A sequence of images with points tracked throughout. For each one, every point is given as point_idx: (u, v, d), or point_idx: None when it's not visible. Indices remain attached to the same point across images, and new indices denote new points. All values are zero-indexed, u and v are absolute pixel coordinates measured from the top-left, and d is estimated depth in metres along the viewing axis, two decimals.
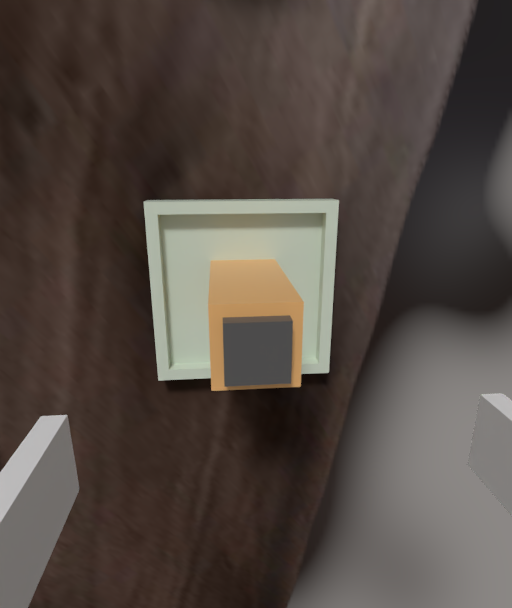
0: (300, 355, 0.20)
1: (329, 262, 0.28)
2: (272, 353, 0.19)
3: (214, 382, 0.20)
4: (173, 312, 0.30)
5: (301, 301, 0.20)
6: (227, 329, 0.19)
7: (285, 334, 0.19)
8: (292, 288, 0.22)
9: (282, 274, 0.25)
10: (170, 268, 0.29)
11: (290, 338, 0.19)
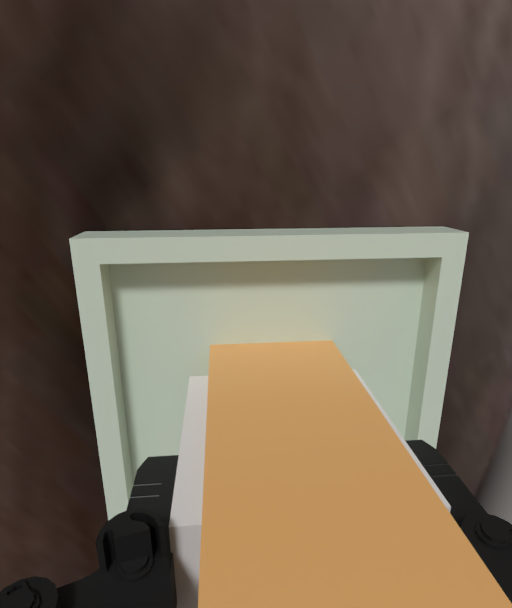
0: None
1: (440, 350, 0.15)
2: None
3: None
4: (141, 437, 0.16)
5: None
6: None
7: None
8: (429, 491, 0.08)
9: (369, 405, 0.11)
10: (133, 360, 0.15)
11: None
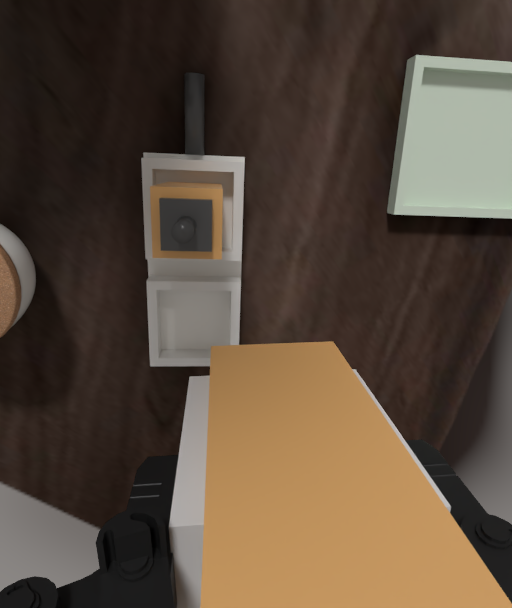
0: None
1: None
2: None
3: None
4: (410, 158, 0.37)
5: None
6: None
7: None
8: (430, 493, 0.08)
9: (370, 406, 0.11)
10: (416, 119, 0.36)
11: None
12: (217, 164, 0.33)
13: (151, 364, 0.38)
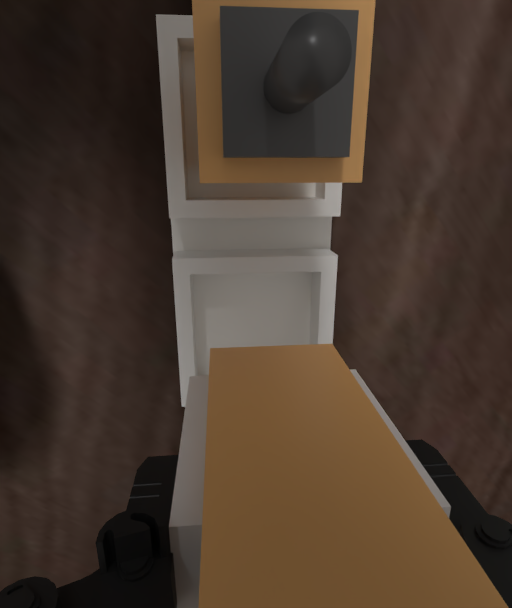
0: None
1: None
2: None
3: None
4: None
5: None
6: None
7: None
8: (428, 497, 0.08)
9: (369, 409, 0.11)
10: None
11: None
12: None
13: (185, 404, 0.22)
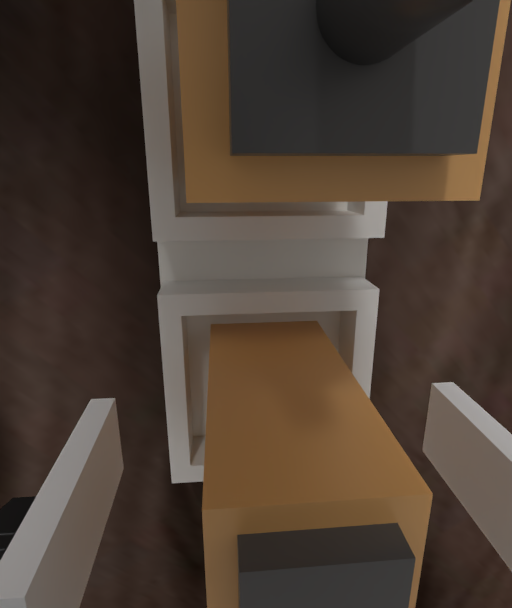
0: (413, 597, 0.09)
1: None
2: None
3: None
4: None
5: (426, 491, 0.08)
6: (251, 585, 0.07)
7: (394, 586, 0.08)
8: (381, 424, 0.10)
9: (343, 368, 0.13)
10: None
11: (405, 593, 0.08)
12: None
13: (175, 480, 0.17)
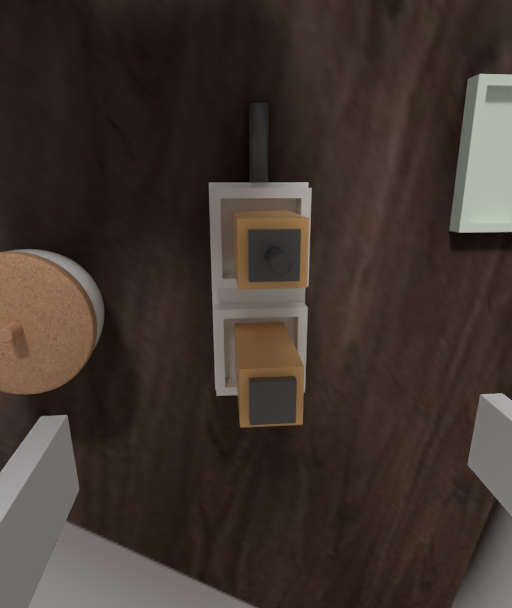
0: (302, 403, 0.29)
1: None
2: (283, 402, 0.28)
3: (242, 421, 0.29)
4: None
5: (302, 366, 0.29)
6: (252, 387, 0.28)
7: (291, 390, 0.28)
8: (296, 353, 0.31)
9: (289, 338, 0.34)
10: None
11: (295, 392, 0.28)
12: (285, 191, 0.33)
13: (218, 394, 0.37)
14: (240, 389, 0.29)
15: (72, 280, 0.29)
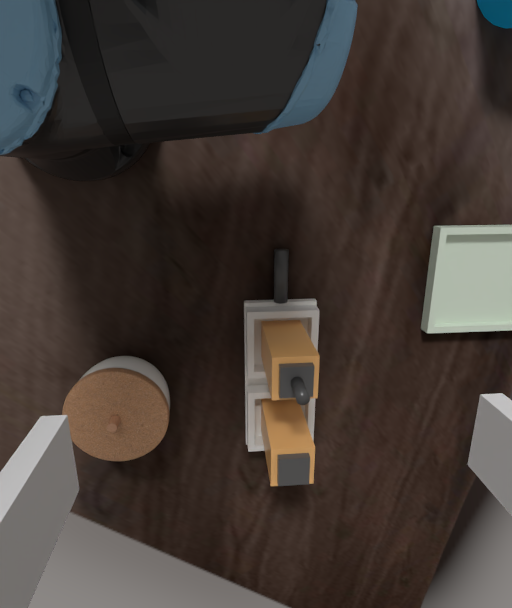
0: (313, 469, 0.43)
1: None
2: (300, 471, 0.42)
3: (272, 482, 0.43)
4: None
5: (314, 446, 0.42)
6: (280, 462, 0.41)
7: (306, 463, 0.41)
8: (309, 433, 0.44)
9: (302, 416, 0.47)
10: None
11: (309, 465, 0.42)
12: (300, 312, 0.46)
13: (249, 450, 0.51)
14: (271, 462, 0.42)
15: (155, 386, 0.42)
